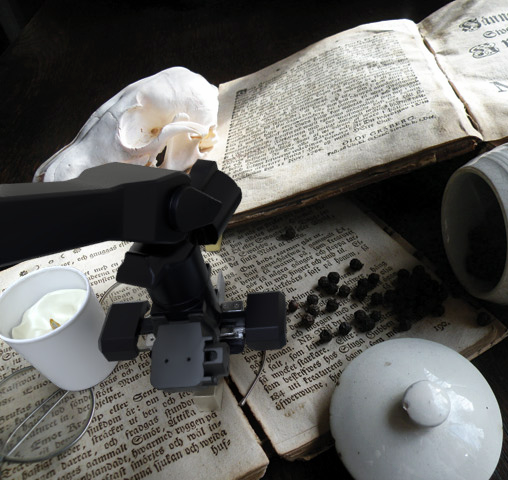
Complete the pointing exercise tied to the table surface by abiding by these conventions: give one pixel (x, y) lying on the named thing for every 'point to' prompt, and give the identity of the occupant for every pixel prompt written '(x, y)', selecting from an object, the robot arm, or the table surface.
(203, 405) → the knife
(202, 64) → the table surface
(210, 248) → the butter slice
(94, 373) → the candle holder
